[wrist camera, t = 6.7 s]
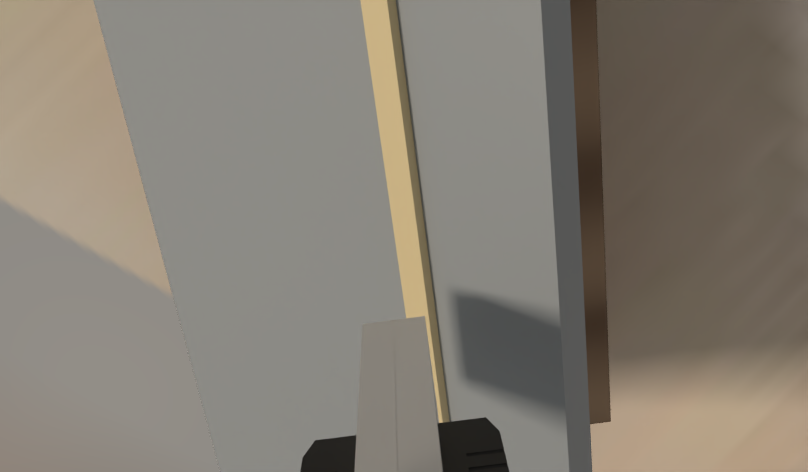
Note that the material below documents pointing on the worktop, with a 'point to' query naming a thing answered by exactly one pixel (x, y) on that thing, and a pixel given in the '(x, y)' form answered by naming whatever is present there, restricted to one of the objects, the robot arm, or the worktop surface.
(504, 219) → the lid
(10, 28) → the worktop surface
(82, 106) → the worktop surface
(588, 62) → the walnut box
